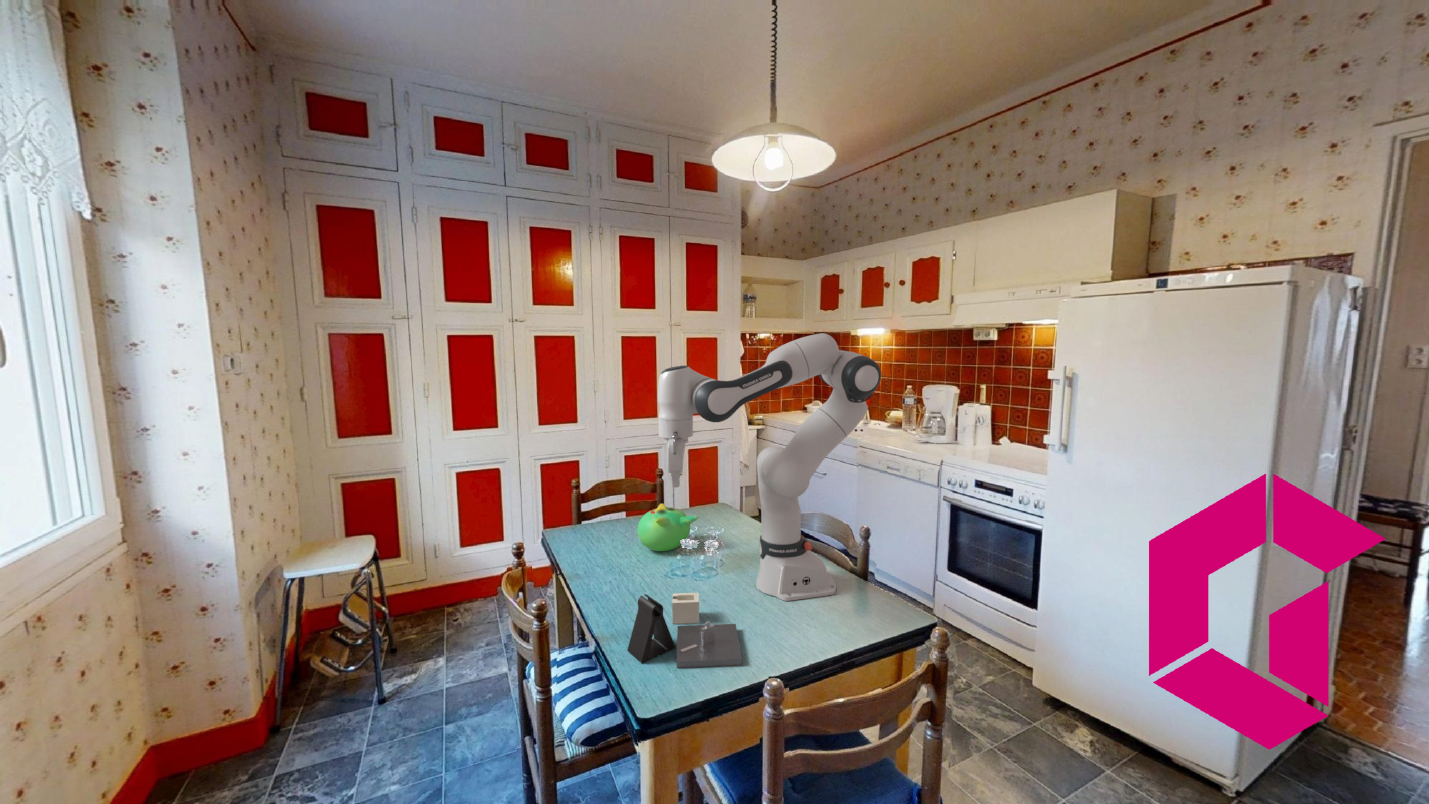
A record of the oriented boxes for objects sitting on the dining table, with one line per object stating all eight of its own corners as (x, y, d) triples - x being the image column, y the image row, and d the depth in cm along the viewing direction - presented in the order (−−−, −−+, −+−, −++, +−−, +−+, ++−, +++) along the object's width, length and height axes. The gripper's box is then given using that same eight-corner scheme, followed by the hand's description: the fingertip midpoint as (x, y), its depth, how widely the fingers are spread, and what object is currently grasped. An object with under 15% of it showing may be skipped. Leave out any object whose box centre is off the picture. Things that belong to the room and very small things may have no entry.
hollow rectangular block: (698, 612, 133) (698, 591, 132) (699, 622, 128) (699, 600, 128) (673, 613, 133) (672, 592, 132) (672, 623, 128) (672, 601, 127)
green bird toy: (675, 535, 187) (674, 496, 185) (701, 550, 173) (700, 507, 171) (630, 547, 176) (628, 505, 175) (654, 564, 163) (652, 519, 161)
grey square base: (735, 629, 125) (735, 605, 124) (741, 665, 111) (741, 638, 111) (677, 631, 124) (677, 607, 124) (676, 668, 111) (676, 640, 110)
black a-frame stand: (660, 637, 122) (659, 588, 121) (675, 648, 118) (674, 598, 116) (627, 651, 117) (625, 600, 115) (641, 664, 112) (639, 611, 111)
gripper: (687, 436, 123) (688, 492, 124) (688, 423, 143) (689, 471, 145) (661, 436, 123) (662, 493, 124) (665, 423, 143) (666, 472, 144)
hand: (676, 481), depth 135 cm, fingers open, 8 cm apart
